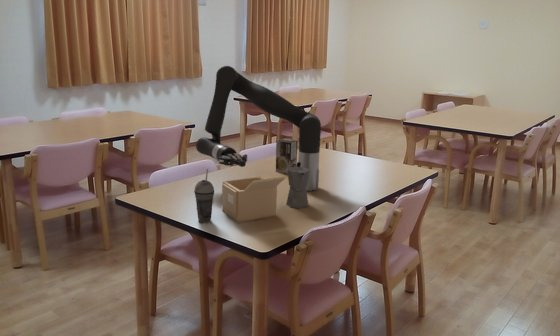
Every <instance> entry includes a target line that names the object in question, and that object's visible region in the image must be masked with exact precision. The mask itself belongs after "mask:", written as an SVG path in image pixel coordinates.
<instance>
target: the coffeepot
mask: <svg viewBox="0 0 560 336" xmlns="http://www.w3.org/2000/svg"><path fill="white" fill-rule="evenodd" d="M300 165H301V163H300V162H298V161H297V165H296V164H293V165H292V167H289V168H288V170H287V171H288V173H287V177H288V185H289V190H288V194H287V199H286V206H287V207H289V208H293V209H303V208H304V207H305V208H307V207H308V206H309V200H308V198H309V197H308V191H307V190H306V186H307V182H308V177H309V172H310V169H308V168H306V167H301V166H300Z"/></svg>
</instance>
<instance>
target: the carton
mask: <svg viewBox="0 0 560 336" xmlns="http://www.w3.org/2000/svg"><path fill="white" fill-rule="evenodd" d="M262 179H263V177H261V176H256V177H248V178H241V179H233V180H224V181H222V184H221V205H222V212H223V213H224V214H226V215H227V216H228V217H229V218H231V219H233V220H234V221H235V222H237V224H241V223H246V222H250V221H251V222H252V221H257V220H262V219H263V220H264V219H267V218H273V216H274V217H276V216H277V199H278V196H277V195H278V194H277V193H278V185H277V186H276V187H274V188H267V189H260V190H253V191H247V192H244V189H245V188H246V187H247V186H248V185H249V184H250V183H251V182H252V181H255V180H262Z"/></svg>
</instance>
